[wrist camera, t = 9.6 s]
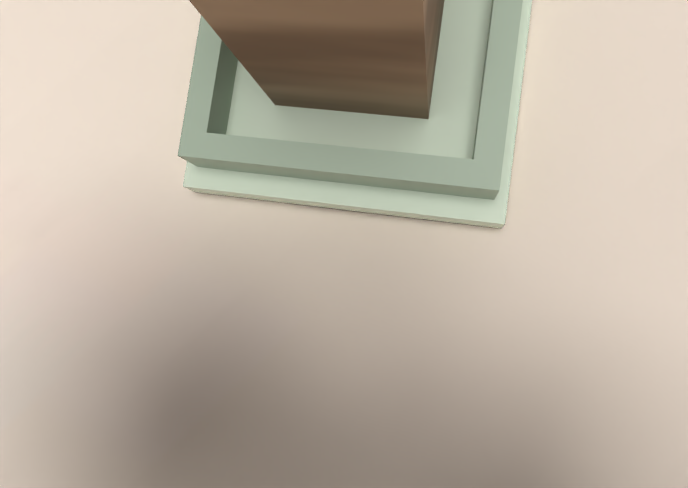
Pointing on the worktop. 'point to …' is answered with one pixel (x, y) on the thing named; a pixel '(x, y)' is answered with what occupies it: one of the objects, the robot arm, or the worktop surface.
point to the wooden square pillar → (335, 51)
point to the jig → (370, 130)
